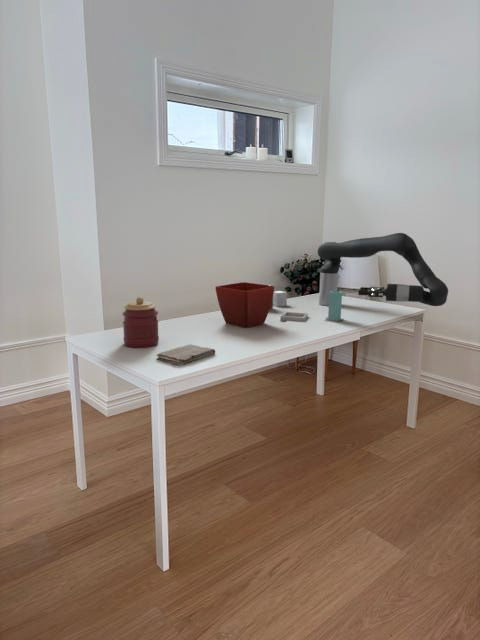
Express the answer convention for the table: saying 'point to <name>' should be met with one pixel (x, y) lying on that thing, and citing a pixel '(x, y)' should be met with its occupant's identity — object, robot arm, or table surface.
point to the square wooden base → (334, 321)
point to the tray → (293, 316)
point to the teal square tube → (335, 305)
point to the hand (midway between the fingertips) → (359, 291)
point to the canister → (140, 324)
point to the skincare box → (279, 298)
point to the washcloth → (185, 354)
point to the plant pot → (244, 303)
